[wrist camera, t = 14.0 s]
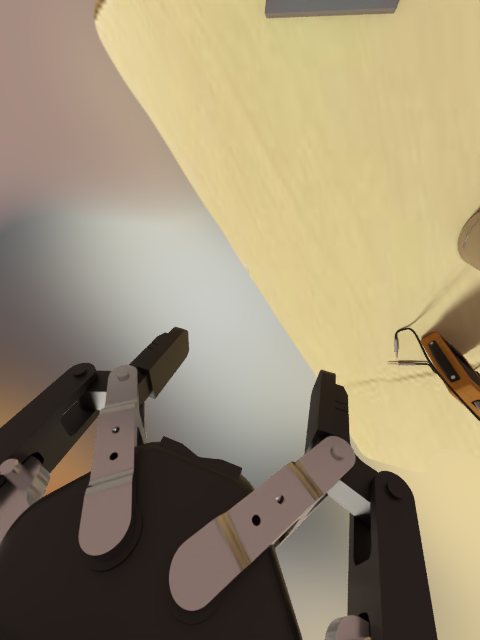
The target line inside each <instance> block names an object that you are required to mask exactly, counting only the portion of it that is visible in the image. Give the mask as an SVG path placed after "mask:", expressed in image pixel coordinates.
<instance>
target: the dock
mask: <svg viewBox="0 0 480 640" xmlns="http://www.w3.org/2000/svg"><path fill="white" fill-rule="evenodd" d="M397 4H398V0H266V6H265V15H266V18H282V17H308V16H333V15H359V14H385V13H394V12H395V10H396V7H397Z"/></svg>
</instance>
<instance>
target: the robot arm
mask: <svg viewBox="0 0 480 640" xmlns="http://www.w3.org/2000/svg"><path fill="white" fill-rule="evenodd" d="M458 251H459V254H460V256H461V257H462V259H463V260H464V261H465V262H467V263H468V264H470V265H471V266H473V267H475V268H476V269H478V270H479V271H480V211H479V212H478V213H476V214H475V215H474V216H473V217H472V218H471V219H470V220H469V221H468V222H467V223H466V225H465V226H464V228H463V229H462V231H461V233H460V236H459V239H458ZM188 352H189V342H188V331H187V330H184V329H181V328H178V327H174V328H173V329H172V330H171V331H170V332H169V333H163V334H162V335H159V336H158V337H156V338H155V339H154V340H153V341H152V343H151V344H150V345H149V346H147V348H145V349H144V350H143V351H142V352H141V353H140V354H139V355H138V356H137V357H136V359H134V360H133V361H132V362H131V363H130V364H129V365H123V366H119V367H117V368H115V369H114V370H113V371H96V369H95V367H94V365H92V364H90V363H81V364H78V365H75V366H73V367H71V368H70V369H69V370H67V371H66V372H65V373H64V374H63V375H62V376H60V377H59V378H58V379H57V380H56V381H55V382H53V383H52V384H51V385H50V386H49V387H48V388H46V389H45V390H44V391H43V392H42V393H41V394H40V395H38V396H37V397H36V398H35V399H34V400H33V401H31V402H30V403H29V404H28V405H27V406H26V407H24V408H23V409H22V410H21V411H20V412H19V413H17V414H16V415H15V416H14V417H13V418H12V419H11V420H9V421H8V422H7V423H6V424H5V425H4V426H2V427H1V428H0V640H302V636H301V633H300V629H299V626H298V623H297V619H296V616H295V613H294V610H293V606H292V603H291V600H290V597H289V594H288V590H287V587H286V584H285V581H284V578H283V574H282V571H281V568H280V565H279V561H278V558H277V555H276V552H275V549H276V548H277V547H278V546H279V545H280V544H281V543H282V542H283V541H284V540H285V539H287V537H289V536H290V535H291V534H292V532H293V531H294V530H295V529H296V528H297V527H298V526H299V525H300V524H301V523H302V522H303V521H304V520H305V519H306V518H307V517H308V516H309V515H310V514H311V513H312V512H313V511H314V510H315V509H316V508H317V507H318V506H319V505H320V504H321V503H322V502H323V501H324V500H325V499H326V498H327V497H328V496H330V497H331V498H333V499H334V500H335V501H336V502H338V503H339V504H340V505H341V506H343V507H344V508H345V509H346V510H348V511H349V512H350V528H349V572H348V574H349V575H348V616H345V617H341V618H337V619H335V620H333V621H332V622H331V623H330V625H329V627H328V629H327V632H326V636H325V640H438V639H437V633H436V628H435V621H434V615H433V609H432V603H431V597H430V591H429V585H428V579H427V573H426V567H425V561H424V556H423V549H422V543H421V537H420V531H419V525H418V519H417V513H416V507H415V500H414V496H413V494H412V491H411V489H410V488H409V486H408V485H407V484H406V482H405V481H404V480H403V479H402V478H400V477H399V476H398V475H396V474H394V473H392V472H389V471H381V472H379V473H378V472H377V471H375V470H374V469H372V468H371V467H369V466H368V465H366V464H365V463H364V462H362V461H361V460H360V459H359V458H358V457H357V456H356V455H355V453H354V451H353V449H352V448H351V445H350V437H349V414H348V395H347V393H346V391H345V389H344V387H343V386H340V385H337V384H336V375H335V373H331V372H328V371H324V370H320V373H319V375H318V377H317V380H316V383H315V385H314V387H313V390H312V394H311V402H310V410H309V419H308V428H307V436H306V445H305V455H304V456H303V457H301V458H300V459H299V460H298V461H296V462H291V463H289V464H287V465H286V466H285V467H283V468H282V469H281V470H280V471H278V472H277V473H276V474H274V475H273V476H272V477H271V478H269V479H268V480H267V481H266V482H264V483H263V484H262V485H260V486H259V487H258V488H257V489H255V490H254V488H253V486H252V485H251V484H250V482H248V480H247V479H246V478H245V477H244V476H242V475H241V471H242V468H241V467H238V466H236V465H234V464H231V463H229V462H226V461H224V460H220V459H211V458H201V457H198V456H196V455H195V454H194V453H193V452H192V451H190V450H189V449H188V448H187V447H186V446H184V445H183V444H182V443H179V442H177V441H174V440H172V439H169V438H167V437H165V436H164V437H163V438H162V440H161V442H150V443H147V438H146V418H145V417H146V416H145V400H146V399H147V398H148V396H149V397H151V398H154V399H155V398H156V397H157V396H158V394H159V393H160V392H161V390H162V389H163V388H164V386H165V385H166V384H167V382H168V381H169V379H170V378H171V377H172V376H173V374H174V373H175V372H176V370H177V369H178V368H179V366H180V365H181V364H182V362H183V361H184V360H185V358H186V357H187V354H188ZM75 402H76V403H75ZM74 403H75V404H74ZM73 404H74V405H73ZM72 405H73V406H72ZM71 406H72V407H71ZM70 407H71V408H70ZM69 408H70V409H69ZM68 409H69V410H68ZM67 410H68V411H67ZM66 411H67V412H66ZM65 412H66V413H65ZM64 413H65V414H64ZM63 414H64V415H63ZM98 415H99V420H98V427H97V434H96V441H95V448H94V455H93V462H92V469H91V472H89V473H87V474H85V475H83V476H81V477H79V478H78V479H76V480H74V481H72V482H70V483H68V484H66V485H65V486H63V487H61V488H59V489H57V490H55V491H53V492H51V493H50V494H48V495H46V496H44V497H43V495H44V494H45V492H46V487H47V486H48V483H49V481H50V473H51V471H52V470H53V469H54V468H55V467H56V465H57V464H58V463H59V462H60V461H61V459H62V458H63V457H64V456H65V455H66V454H67V452H68V451H69V450H70V449H71V448H72V446H73V445H74V444H75V443H76V442H77V441H78V439H79V438H80V437H81V436H82V435H83V433H84V432H85V431H86V430H87V429H88V427H89V426H90V425H91V424H92V423H93V422H94V420H95V419H96V418H97V416H98ZM40 498H41V499H40Z"/></svg>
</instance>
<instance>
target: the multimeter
mask: <svg viewBox="0 0 480 640" xmlns="http://www.w3.org/2000/svg"><path fill="white" fill-rule="evenodd" d="M407 329H409V330H411V331H412V332H413V333H414V334H415V336H416V338H417V340H418V342H419V344H420V346H421V348H422V351H423V353H424V355H425V357H426V359H427V360H428V362H429V364H427V363H399V362H398V364H397V363H389V364H397V365H429V366H430V367H431V369H432V370H433V371H434V372H435V373H436V374H438V376H439V377H440V378H441V379H442V380H443V382H444V383H445V385H446V387H447V389H448V390H449V392H450V393H451V394H452V396H454V397H455V398H456V399H457V400H458V401H460V402H461V403H462V404H463V405H464V406H465V407H467V408H468V410H469V411H470V412H471V413H472V414H473V415H474V416H475V417H476V418H477V419H478V420H479V421H480V374H479V373H478V372H477V371H475V370H474V369H473V368H472V366H471V365H470V364H469V363H468V361H467V360H466V359H465V357H464V356H463V355H462V354H461V353H460V352H458V351H457V350H456V349H455V348H454V347H453V346H452V345H450V344H449V343H448V342H447V341H446V340H445V339H444V338H442V337H441V336H440V335H439V334H438V333H437V332H434V333H432V334H430V335H429V336H427V337H425V338H423V339H422V340H421V342H420V340H419V338H418V336H417V334H416V333H415V331H414V330H412V329H411V328H404V329H401V330H398V331H397V332H396V334H395V340H394V349H395V350H394V352H396V359H397V352H398V348H397V339H396V338H397V333H398V332H400V331H403V330H407ZM421 343H422V344H421ZM422 345H423V346H424V348H425V350H426V352H427V354H428V355H429V357H430V359H431V361H432V362H433V364H434V366H435V367H434V366H433V364H432V363H431V361H430V360H429V358H428V356H427V354H426V352H425V350H424V348H423V346H422ZM436 369H437V370H436Z"/></svg>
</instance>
